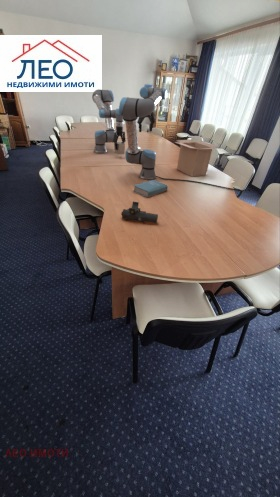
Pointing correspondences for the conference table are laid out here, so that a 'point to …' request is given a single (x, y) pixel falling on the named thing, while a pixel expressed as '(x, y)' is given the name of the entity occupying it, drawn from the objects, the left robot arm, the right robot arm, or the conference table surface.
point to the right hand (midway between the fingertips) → (145, 131)
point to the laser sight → (138, 214)
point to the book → (150, 188)
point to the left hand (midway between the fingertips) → (119, 149)
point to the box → (194, 157)
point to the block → (119, 148)
